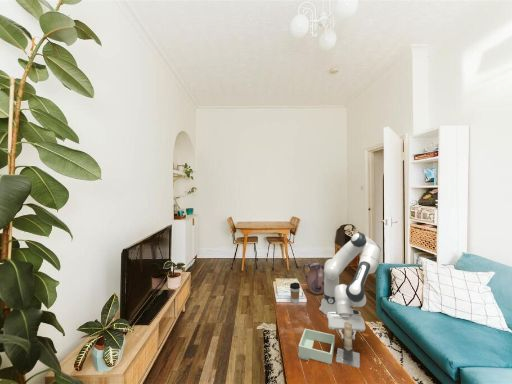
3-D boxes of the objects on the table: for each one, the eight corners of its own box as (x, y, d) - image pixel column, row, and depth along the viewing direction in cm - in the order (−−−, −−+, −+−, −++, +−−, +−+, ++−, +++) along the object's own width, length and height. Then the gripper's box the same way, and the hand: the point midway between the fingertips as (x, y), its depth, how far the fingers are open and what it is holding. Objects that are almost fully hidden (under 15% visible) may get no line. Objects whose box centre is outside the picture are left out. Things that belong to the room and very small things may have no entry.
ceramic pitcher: (327, 297, 212) (327, 268, 211) (302, 295, 216) (302, 267, 216) (325, 288, 229) (325, 262, 228) (302, 287, 234) (302, 261, 233)
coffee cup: (301, 303, 202) (301, 285, 201) (292, 304, 199) (292, 286, 199) (297, 298, 210) (297, 281, 209) (288, 300, 207) (288, 282, 207)
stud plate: (337, 350, 145) (337, 340, 144) (359, 355, 140) (359, 345, 140) (335, 364, 134) (335, 353, 133) (359, 370, 129) (359, 359, 129)
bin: (305, 339, 155) (305, 328, 155) (334, 346, 148) (334, 335, 148) (298, 357, 139) (298, 345, 138) (331, 366, 132) (331, 354, 131)
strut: (343, 353, 140) (343, 320, 139) (352, 355, 138) (353, 322, 137) (343, 358, 135) (343, 325, 135) (352, 361, 133) (352, 327, 133)
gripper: (327, 309, 144) (329, 336, 135) (363, 311, 141) (368, 338, 132) (325, 313, 149) (328, 338, 139) (360, 315, 146) (366, 341, 137)
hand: (348, 339), depth 136 cm, fingers closed on strut, 4 cm apart
